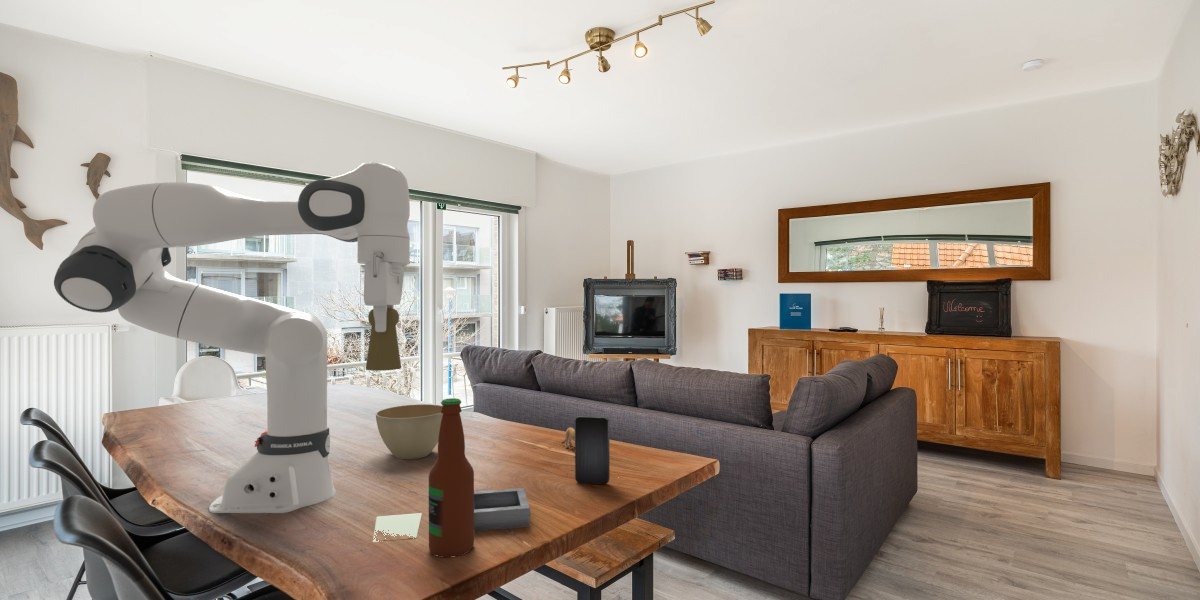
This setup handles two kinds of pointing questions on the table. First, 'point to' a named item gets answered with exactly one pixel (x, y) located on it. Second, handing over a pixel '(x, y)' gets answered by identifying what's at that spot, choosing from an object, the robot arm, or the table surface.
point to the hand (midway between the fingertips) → (383, 330)
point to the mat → (398, 524)
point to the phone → (592, 450)
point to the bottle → (451, 488)
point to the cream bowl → (410, 429)
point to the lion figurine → (569, 433)
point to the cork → (384, 344)
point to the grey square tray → (501, 509)
